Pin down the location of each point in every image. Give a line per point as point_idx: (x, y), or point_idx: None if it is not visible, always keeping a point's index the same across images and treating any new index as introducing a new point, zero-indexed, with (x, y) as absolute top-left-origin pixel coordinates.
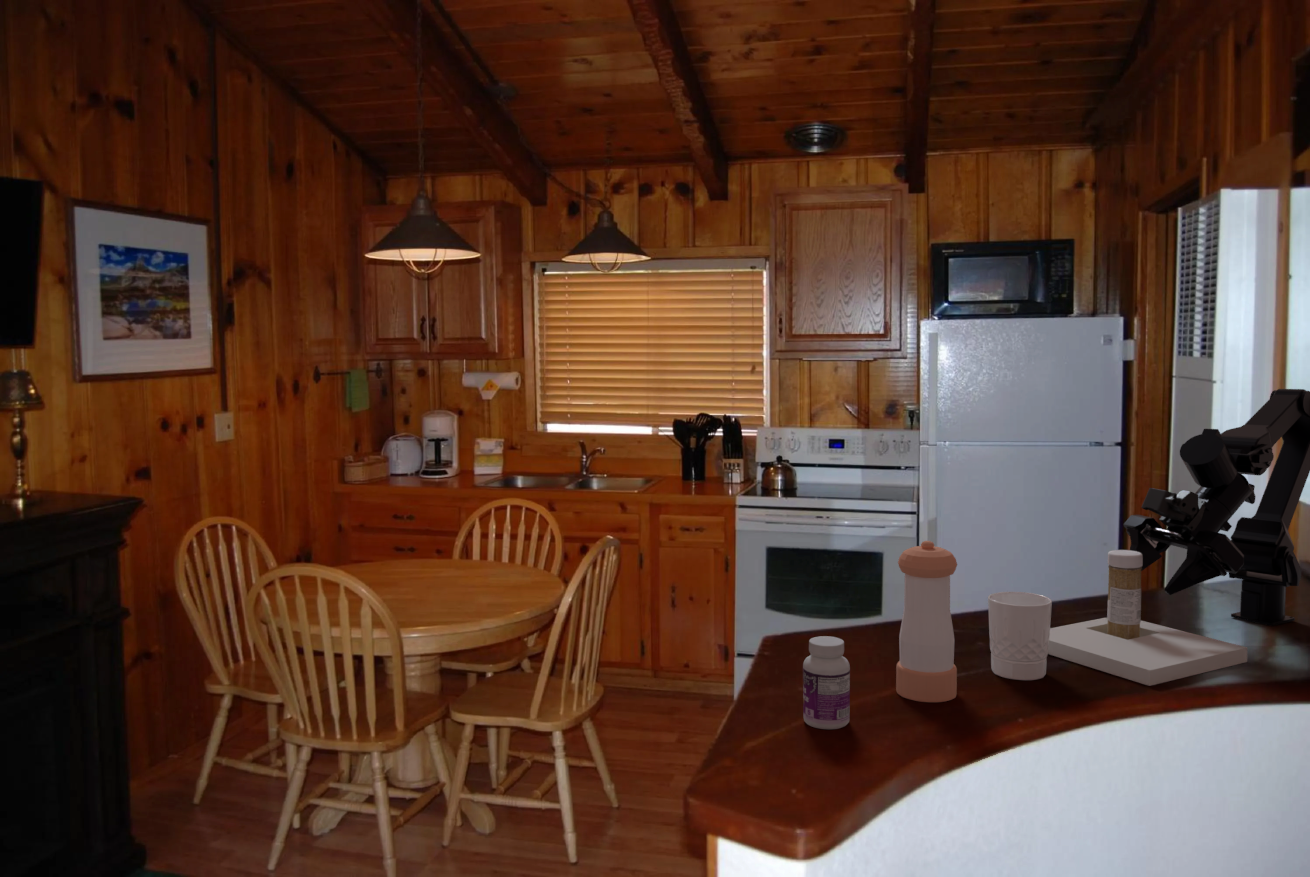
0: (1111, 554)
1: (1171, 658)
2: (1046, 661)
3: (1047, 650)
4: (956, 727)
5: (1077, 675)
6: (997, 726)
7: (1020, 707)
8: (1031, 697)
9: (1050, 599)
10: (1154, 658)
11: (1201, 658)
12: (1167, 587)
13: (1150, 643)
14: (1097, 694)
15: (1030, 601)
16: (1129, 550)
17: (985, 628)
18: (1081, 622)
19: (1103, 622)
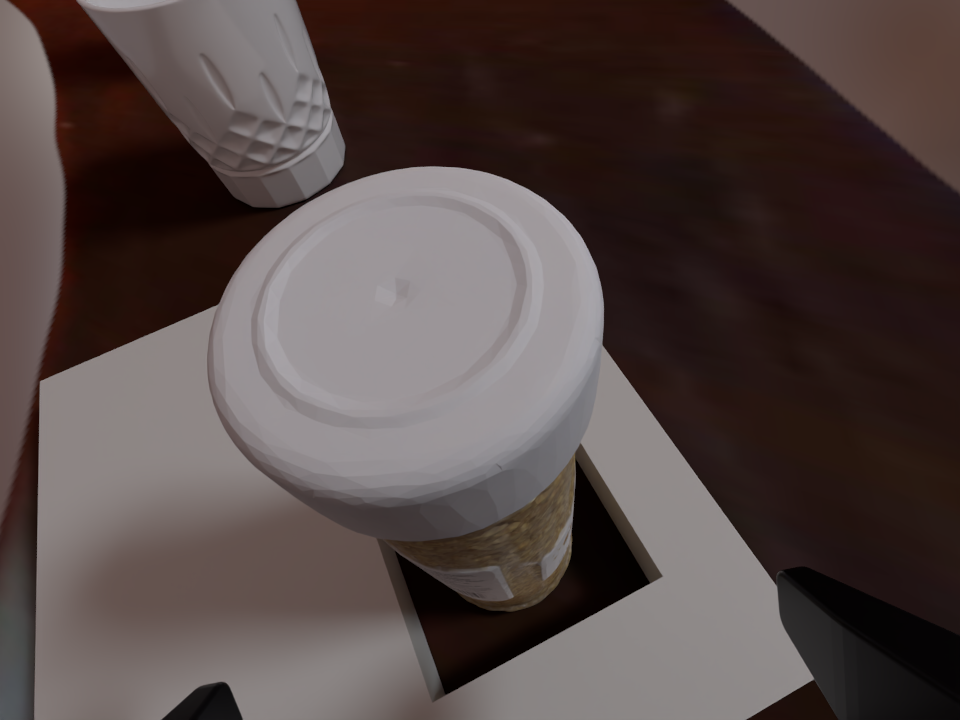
0: (385, 173)
1: (93, 516)
2: (233, 181)
3: (210, 155)
4: (88, 58)
5: (228, 269)
6: (61, 97)
7: (111, 134)
8: (145, 158)
9: (116, 8)
10: (119, 452)
11: (36, 648)
12: (182, 701)
13: (279, 538)
14: (98, 266)
15: (233, 11)
16: (475, 374)
17: (706, 172)
18: (637, 397)
19: (641, 493)
